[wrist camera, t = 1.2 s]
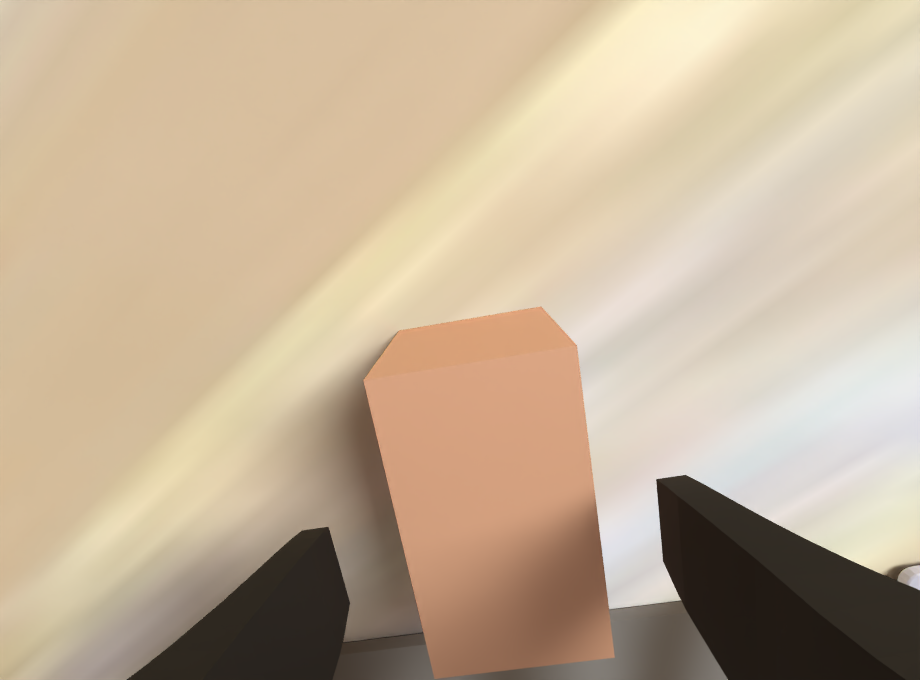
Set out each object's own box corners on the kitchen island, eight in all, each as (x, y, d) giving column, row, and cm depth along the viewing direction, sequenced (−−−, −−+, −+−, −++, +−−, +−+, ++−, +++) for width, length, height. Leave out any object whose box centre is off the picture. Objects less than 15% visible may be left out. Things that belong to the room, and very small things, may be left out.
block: (540, 305, 14) (576, 345, 9) (571, 527, 16) (614, 657, 11) (399, 329, 14) (363, 380, 10) (445, 544, 16) (434, 679, 11)
